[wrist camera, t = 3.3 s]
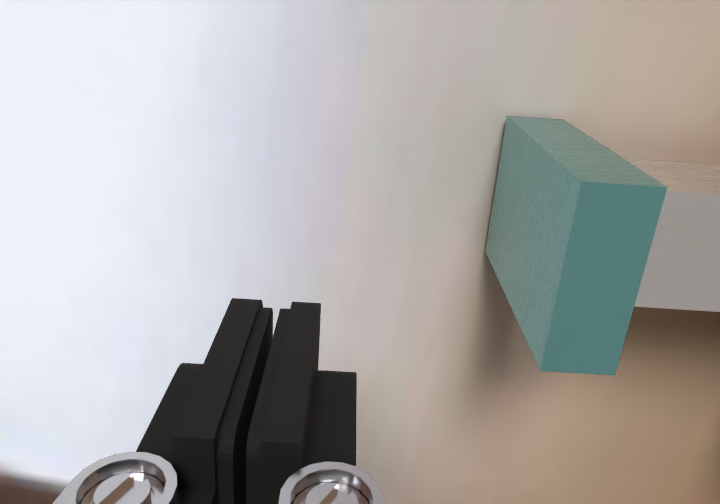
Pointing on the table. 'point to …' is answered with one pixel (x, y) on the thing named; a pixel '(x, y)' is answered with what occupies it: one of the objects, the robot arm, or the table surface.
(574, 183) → the peg
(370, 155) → the table surface
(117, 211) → the table surface
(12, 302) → the table surface
